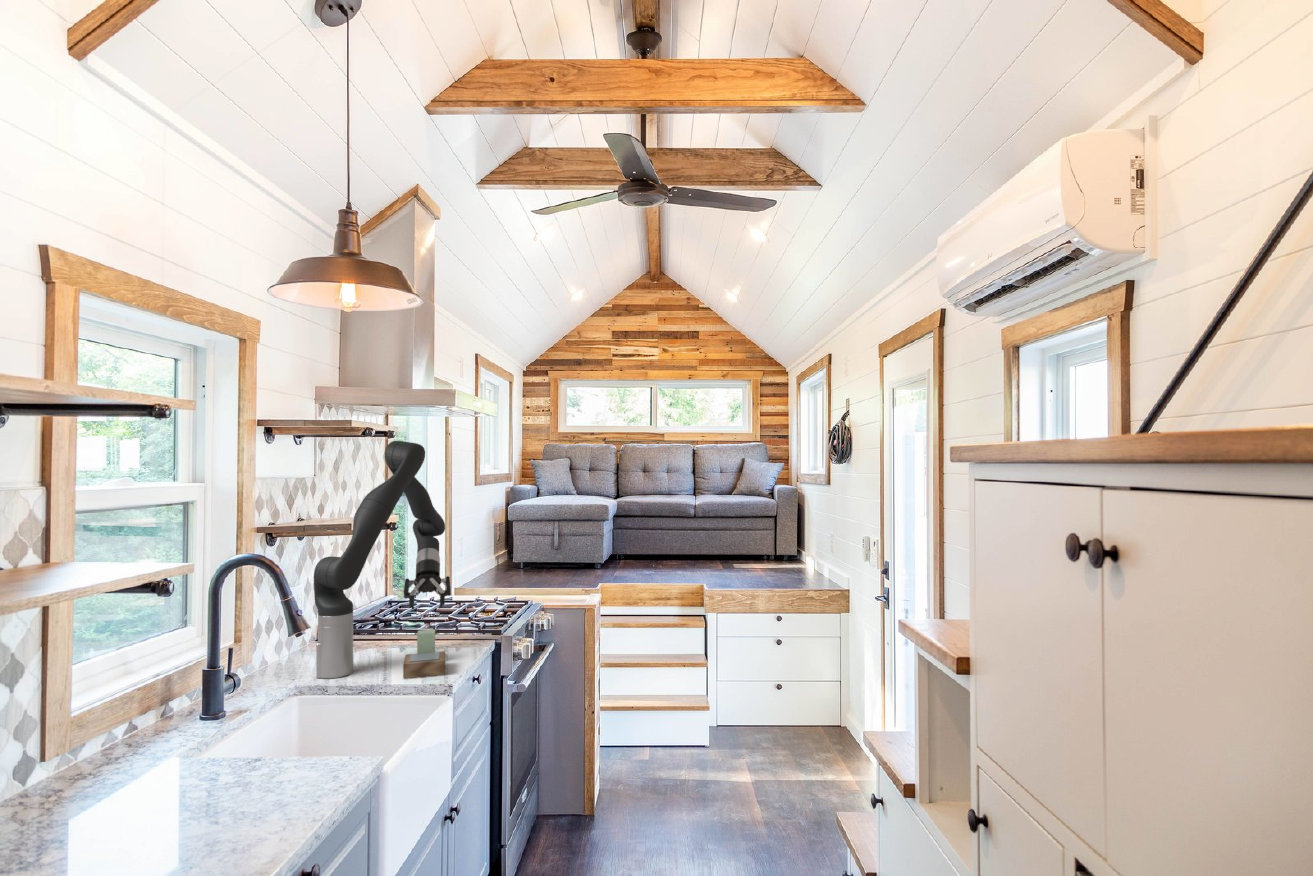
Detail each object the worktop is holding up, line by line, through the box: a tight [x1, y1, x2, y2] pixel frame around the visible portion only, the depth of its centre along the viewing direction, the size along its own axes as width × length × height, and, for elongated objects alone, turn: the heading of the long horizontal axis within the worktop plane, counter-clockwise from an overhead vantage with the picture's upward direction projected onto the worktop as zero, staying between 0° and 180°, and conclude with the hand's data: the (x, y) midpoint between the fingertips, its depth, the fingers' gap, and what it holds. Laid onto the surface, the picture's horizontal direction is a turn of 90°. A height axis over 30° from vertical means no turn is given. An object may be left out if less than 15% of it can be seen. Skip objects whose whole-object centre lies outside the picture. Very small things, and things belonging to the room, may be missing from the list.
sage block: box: [416, 628, 436, 654], centre depth 215 cm, size 5×5×9 cm
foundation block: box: [402, 650, 446, 679], centre depth 204 cm, size 11×11×4 cm
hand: (427, 606), depth 225 cm, fingers open, 8 cm apart
